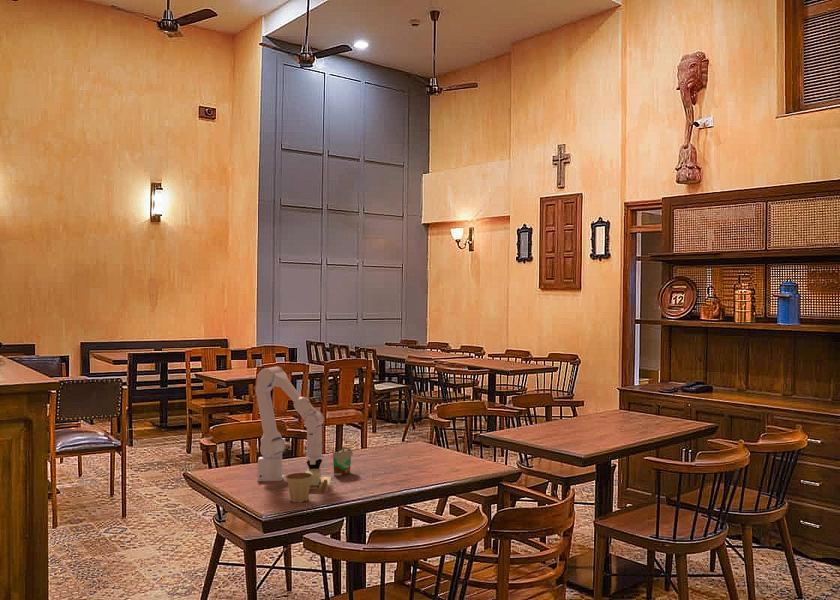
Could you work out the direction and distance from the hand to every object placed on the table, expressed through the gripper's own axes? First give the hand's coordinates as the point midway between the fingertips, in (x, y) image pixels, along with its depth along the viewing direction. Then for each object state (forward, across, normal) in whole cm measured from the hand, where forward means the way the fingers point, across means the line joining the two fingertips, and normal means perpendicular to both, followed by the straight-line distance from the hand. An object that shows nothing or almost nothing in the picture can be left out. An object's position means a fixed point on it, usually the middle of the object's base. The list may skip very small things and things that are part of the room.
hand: (314, 479), depth 271 cm
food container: (+2, +12, -11) cm, 16 cm away
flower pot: (+2, -24, +3) cm, 24 cm away
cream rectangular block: (+1, -6, 0) cm, 7 cm away
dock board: (+1, -4, 0) cm, 4 cm away
